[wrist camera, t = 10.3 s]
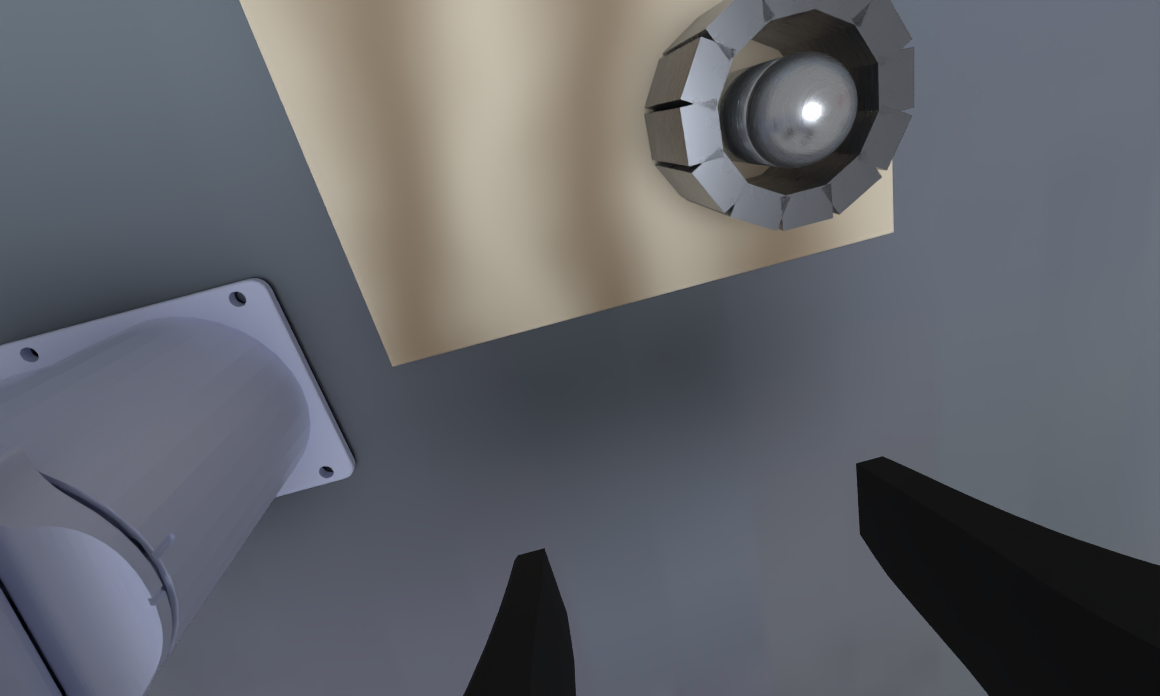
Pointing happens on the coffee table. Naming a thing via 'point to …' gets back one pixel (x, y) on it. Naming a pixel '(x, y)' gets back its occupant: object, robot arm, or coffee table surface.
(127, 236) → the coffee table surface
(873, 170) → the ring
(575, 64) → the board
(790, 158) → the post
